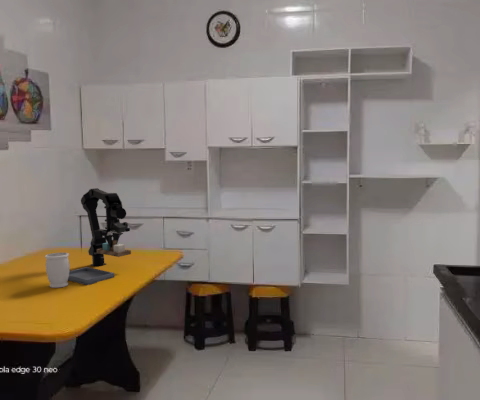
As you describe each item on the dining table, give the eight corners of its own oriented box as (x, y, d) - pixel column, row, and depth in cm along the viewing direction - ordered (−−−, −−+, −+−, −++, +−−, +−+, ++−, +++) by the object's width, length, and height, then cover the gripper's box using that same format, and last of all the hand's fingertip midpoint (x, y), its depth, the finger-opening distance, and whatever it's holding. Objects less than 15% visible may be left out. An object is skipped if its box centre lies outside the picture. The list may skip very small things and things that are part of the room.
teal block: (102, 250, 263) (102, 243, 262) (109, 249, 266) (108, 242, 265) (107, 251, 260) (107, 244, 260) (113, 250, 263) (113, 243, 263)
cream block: (113, 252, 257) (113, 245, 257) (119, 251, 260) (119, 243, 260) (118, 253, 255) (118, 245, 254) (124, 252, 258) (124, 244, 258)
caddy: (96, 252, 263) (96, 239, 262) (109, 250, 269) (108, 237, 268) (118, 256, 252) (117, 243, 251) (130, 254, 258) (130, 240, 257)
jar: (75, 283, 238) (73, 252, 237) (61, 289, 228) (59, 257, 227) (57, 282, 242) (55, 251, 240) (42, 287, 232) (40, 256, 230)
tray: (60, 278, 249) (60, 273, 248) (87, 271, 261) (87, 267, 261) (87, 285, 235) (87, 279, 234) (114, 277, 247) (114, 272, 247)
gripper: (106, 220, 246) (108, 251, 248) (136, 216, 261) (137, 245, 262) (93, 219, 253) (94, 249, 255) (122, 214, 268) (123, 243, 269)
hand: (113, 246), depth 260 cm, fingers closed on caddy, 2 cm apart
